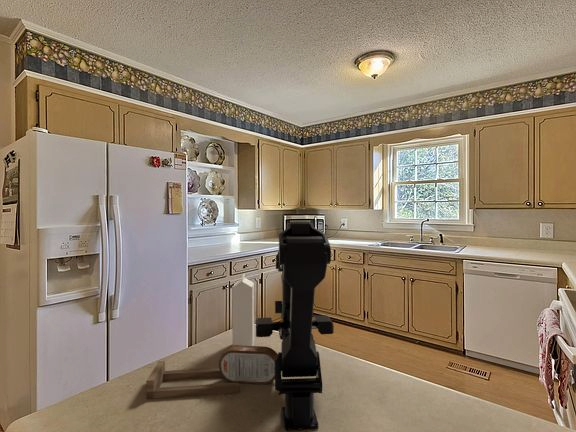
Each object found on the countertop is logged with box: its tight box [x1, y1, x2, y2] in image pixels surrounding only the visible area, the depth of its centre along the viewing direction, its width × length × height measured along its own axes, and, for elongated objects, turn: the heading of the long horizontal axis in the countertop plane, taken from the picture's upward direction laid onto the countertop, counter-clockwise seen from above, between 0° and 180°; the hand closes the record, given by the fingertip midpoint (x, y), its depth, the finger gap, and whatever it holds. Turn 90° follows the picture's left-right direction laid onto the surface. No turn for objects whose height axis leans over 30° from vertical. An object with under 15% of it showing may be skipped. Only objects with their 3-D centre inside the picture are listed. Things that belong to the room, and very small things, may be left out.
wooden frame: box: [145, 360, 240, 400], centre depth 74 cm, size 9×20×4 cm, turn 96°
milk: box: [231, 272, 255, 346], centre depth 95 cm, size 6×6×22 cm
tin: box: [218, 345, 278, 385], centre depth 76 cm, size 15×3×8 cm, turn 84°
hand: (294, 360), depth 77 cm, fingers closed
